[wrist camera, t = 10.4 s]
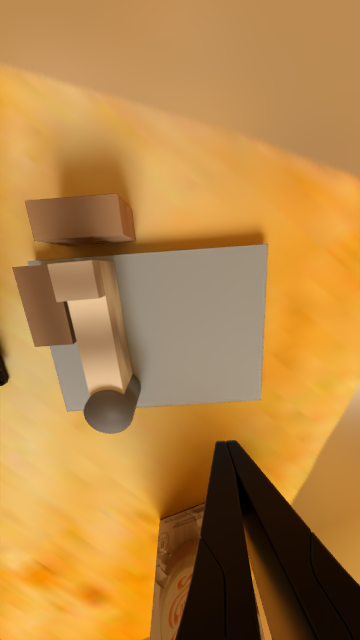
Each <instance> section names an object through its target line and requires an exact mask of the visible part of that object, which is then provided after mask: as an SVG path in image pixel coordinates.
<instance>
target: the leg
mask: <svg viewBox="0 0 360 640" xmlns="http://www.w3.org/2000/svg"><path fill="white" fill-rule="evenodd" d="M47 266H48V270H49V274H50V278H51V282H52V286H53V290H54V293H55V297H56V301H57V302H63V301H67V303H68V307H69V311H70V315H71V319H72V324H73V328H74V332H75V336H76V340H77V345H78V349H79V353H80V357H81V361H82V365H83V370H84V374H85V378H86V382H87V386H88V391H89V395H90V398H89V399H88V401H87V402H86V404H85V407H84V416H85V419H86V421H87V422H88V424H89V425H90V426H91V427H93V428H94V429H96V430H97V431H100V432H103V433H109V434H113V433H118V432H121V431H123V430H125V429H126V428H127V427H128V426H129V425H130V423H131V421H132V418H133V415H134V412H135V409H136V405H137V402H138V399H139V395H140V392H141V385H140V382H139V380H138V379H137V377H136V376H135V375H133V374H132V367H131V361H130V355H129V349H128V343H127V337H126V331H125V325H124V319H123V313H122V307H121V301H120V295H119V289H118V283H117V277H116V271H115V265H114V261H98V260H88V261H77V262H65V263H54V264H47Z"/></svg>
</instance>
